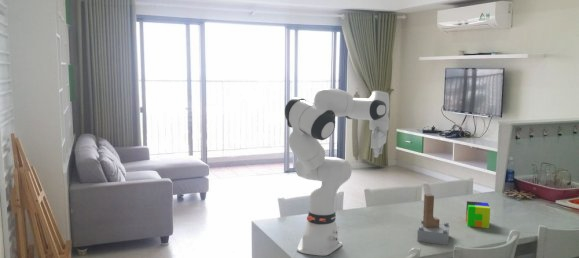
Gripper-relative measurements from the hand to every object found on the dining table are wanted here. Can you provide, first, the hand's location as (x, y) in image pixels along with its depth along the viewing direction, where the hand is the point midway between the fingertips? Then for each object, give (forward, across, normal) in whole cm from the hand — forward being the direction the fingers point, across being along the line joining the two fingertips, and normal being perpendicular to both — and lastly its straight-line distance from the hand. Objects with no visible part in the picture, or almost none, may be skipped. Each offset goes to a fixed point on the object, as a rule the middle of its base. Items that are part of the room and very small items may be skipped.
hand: (378, 155), depth 223 cm
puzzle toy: (+38, +33, -45) cm, 67 cm away
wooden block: (+32, +4, -25) cm, 41 cm away
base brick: (+37, +3, -26) cm, 45 cm away
